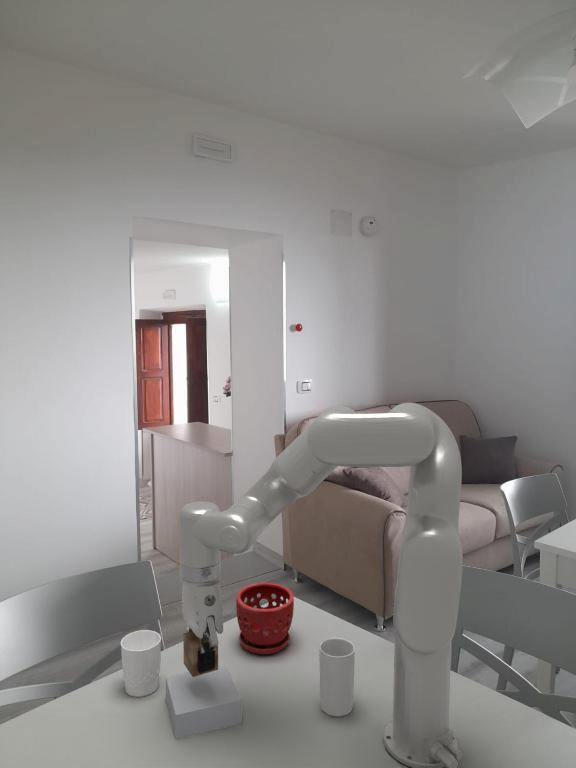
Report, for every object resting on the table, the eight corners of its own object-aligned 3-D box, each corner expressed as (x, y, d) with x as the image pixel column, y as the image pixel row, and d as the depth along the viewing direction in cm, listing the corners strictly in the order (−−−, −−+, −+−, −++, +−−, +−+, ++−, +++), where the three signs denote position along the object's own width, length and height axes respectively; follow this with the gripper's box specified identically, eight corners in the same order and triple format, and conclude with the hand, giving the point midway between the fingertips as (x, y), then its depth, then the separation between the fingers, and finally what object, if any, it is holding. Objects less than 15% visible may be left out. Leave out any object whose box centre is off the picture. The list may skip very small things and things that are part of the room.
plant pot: (224, 647, 134) (224, 597, 132) (261, 624, 144) (261, 577, 143) (269, 667, 126) (269, 614, 124) (305, 641, 136) (305, 591, 135)
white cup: (114, 694, 116) (112, 647, 115) (135, 672, 124) (134, 627, 123) (149, 702, 114) (148, 653, 113) (169, 679, 122) (168, 633, 121)
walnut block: (218, 669, 110) (218, 639, 109) (192, 677, 107) (192, 646, 107) (208, 656, 114) (208, 627, 113) (183, 663, 112) (183, 633, 111)
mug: (353, 719, 109) (354, 658, 108) (317, 716, 110) (317, 655, 109) (355, 686, 119) (356, 630, 118) (322, 683, 120) (322, 627, 119)
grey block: (241, 725, 108) (241, 700, 108) (176, 741, 104) (175, 714, 103) (225, 687, 119) (225, 664, 119) (166, 700, 115) (165, 676, 115)
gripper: (237, 583, 103) (237, 680, 105) (202, 550, 118) (203, 636, 120) (197, 592, 100) (197, 693, 101) (166, 557, 114) (167, 645, 116)
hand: (200, 661), depth 111 cm, fingers closed on walnut block, 5 cm apart
